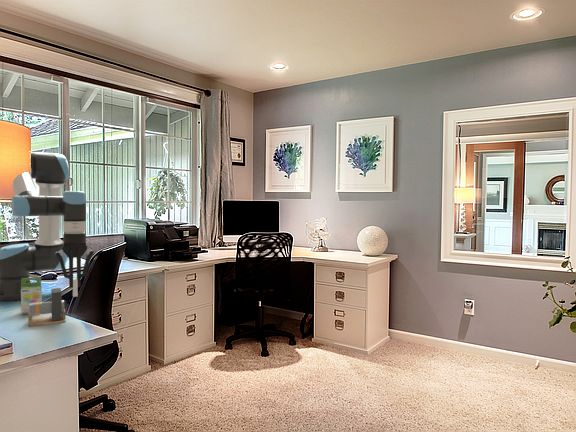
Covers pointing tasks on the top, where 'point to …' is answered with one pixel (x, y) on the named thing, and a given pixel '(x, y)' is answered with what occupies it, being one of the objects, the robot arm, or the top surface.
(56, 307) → the grey upright block
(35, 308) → the pipe
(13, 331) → the top surface
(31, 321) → the board
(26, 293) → the ink box
